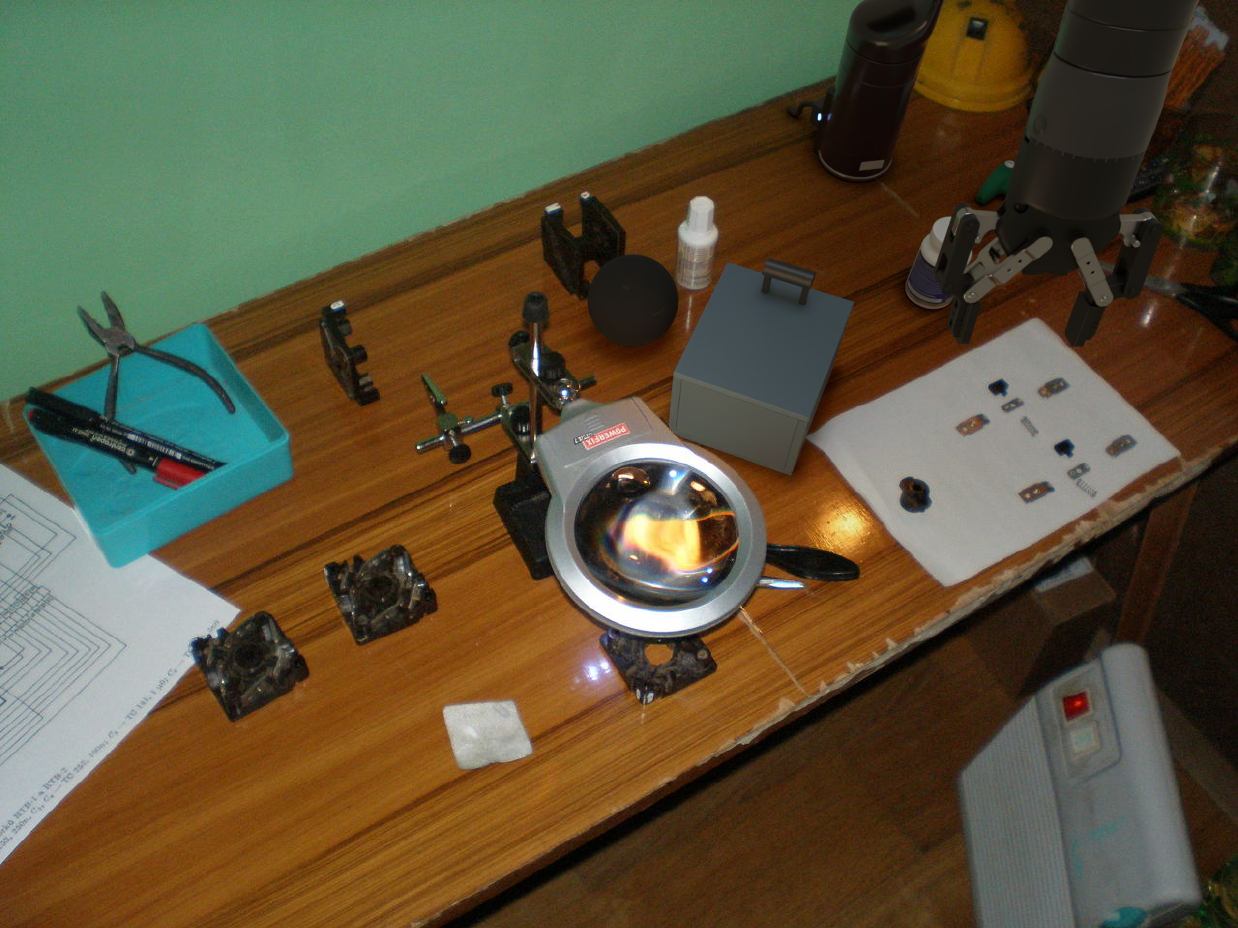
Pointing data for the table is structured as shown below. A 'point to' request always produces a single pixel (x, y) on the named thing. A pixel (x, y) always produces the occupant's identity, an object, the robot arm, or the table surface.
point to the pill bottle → (929, 270)
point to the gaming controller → (996, 182)
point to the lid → (766, 338)
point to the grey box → (739, 425)
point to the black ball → (633, 300)
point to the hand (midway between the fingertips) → (1016, 340)
